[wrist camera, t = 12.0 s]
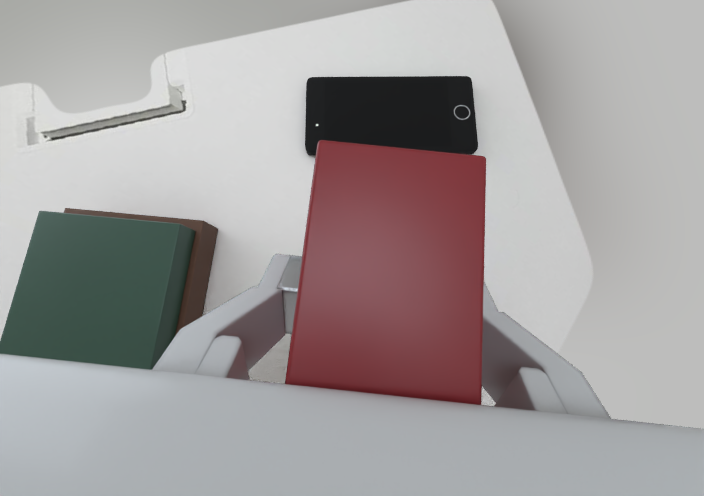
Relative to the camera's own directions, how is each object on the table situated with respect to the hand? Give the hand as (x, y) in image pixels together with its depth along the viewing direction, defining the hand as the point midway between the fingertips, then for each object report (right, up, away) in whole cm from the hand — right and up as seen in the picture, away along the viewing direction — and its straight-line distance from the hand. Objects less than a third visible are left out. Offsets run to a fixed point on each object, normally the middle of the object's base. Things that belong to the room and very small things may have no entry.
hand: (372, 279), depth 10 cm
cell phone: (+3, +15, +23) cm, 27 cm away
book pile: (-22, -5, +19) cm, 29 cm away
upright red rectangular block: (0, -2, +6) cm, 6 cm away
